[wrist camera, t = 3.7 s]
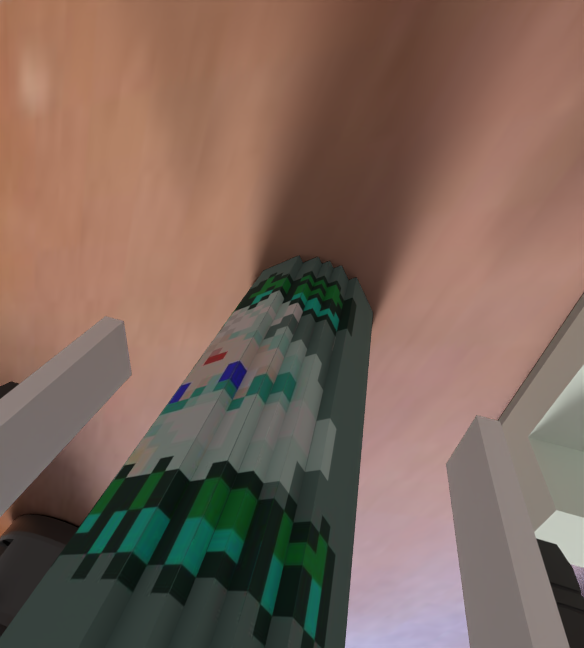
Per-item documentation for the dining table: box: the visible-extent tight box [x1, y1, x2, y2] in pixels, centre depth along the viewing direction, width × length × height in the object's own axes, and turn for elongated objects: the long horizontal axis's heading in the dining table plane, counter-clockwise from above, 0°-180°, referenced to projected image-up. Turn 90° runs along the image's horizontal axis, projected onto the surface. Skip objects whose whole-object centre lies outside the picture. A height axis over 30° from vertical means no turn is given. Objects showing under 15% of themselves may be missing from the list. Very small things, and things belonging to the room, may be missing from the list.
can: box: [0, 256, 373, 648], centre depth 13 cm, size 6×6×15 cm
